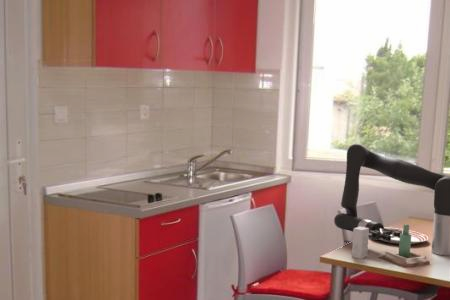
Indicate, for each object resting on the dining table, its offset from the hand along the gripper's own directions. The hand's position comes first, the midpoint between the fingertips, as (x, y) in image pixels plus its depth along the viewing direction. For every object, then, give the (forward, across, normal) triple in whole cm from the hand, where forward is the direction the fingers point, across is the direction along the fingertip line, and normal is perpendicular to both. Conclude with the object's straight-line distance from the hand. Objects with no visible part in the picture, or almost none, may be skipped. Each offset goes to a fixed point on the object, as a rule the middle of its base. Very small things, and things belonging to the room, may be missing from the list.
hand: (398, 237), depth 246 cm
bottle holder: (+4, 0, +9) cm, 10 cm away
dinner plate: (-26, +26, +9) cm, 38 cm away
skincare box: (-8, -13, +9) cm, 18 cm away
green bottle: (+4, 0, +8) cm, 9 cm away
